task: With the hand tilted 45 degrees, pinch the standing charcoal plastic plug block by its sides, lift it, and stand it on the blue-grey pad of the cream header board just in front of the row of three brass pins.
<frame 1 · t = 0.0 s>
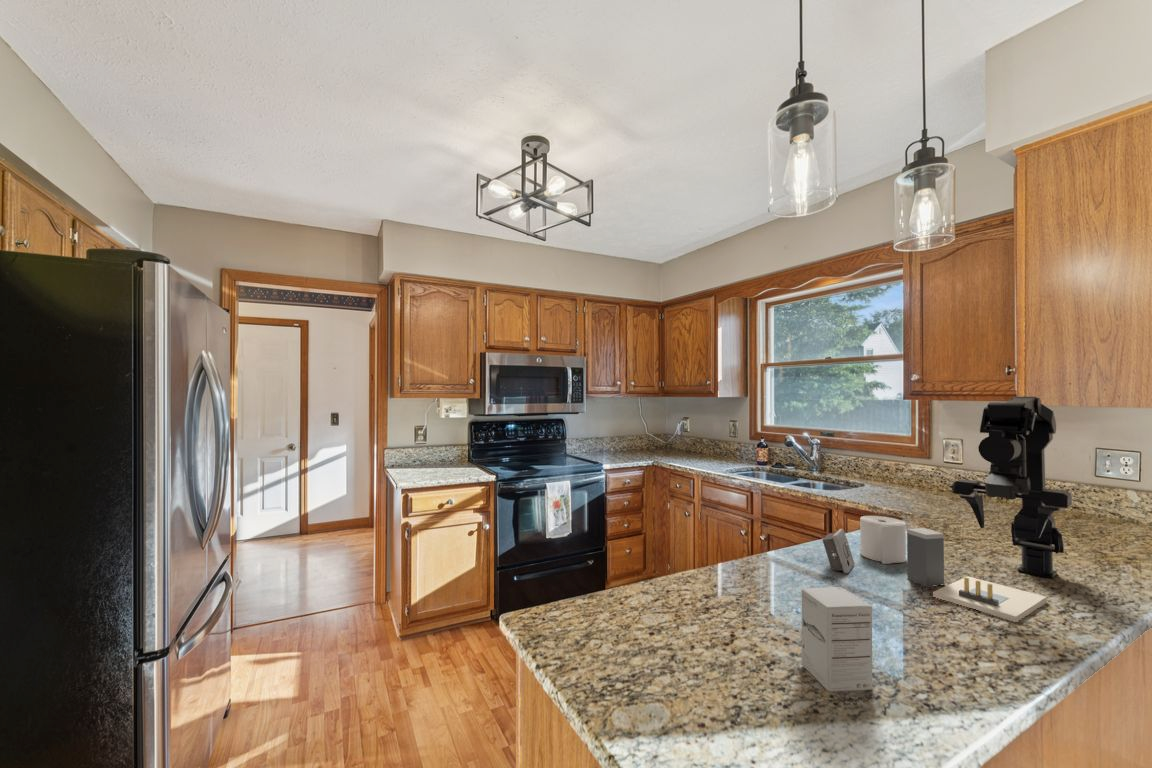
hand: (1009, 532, 105), 15 cm above the worktop, tool pointing down, fingers open, 9 cm apart
header board: (989, 599, 106), on the worktop
plug block: (925, 582, 116), on the worktop
toilet tissue: (884, 558, 133), on the worktop
supplement box: (835, 679, 76), on the worktop
electrical switch: (839, 568, 125), on the worktop
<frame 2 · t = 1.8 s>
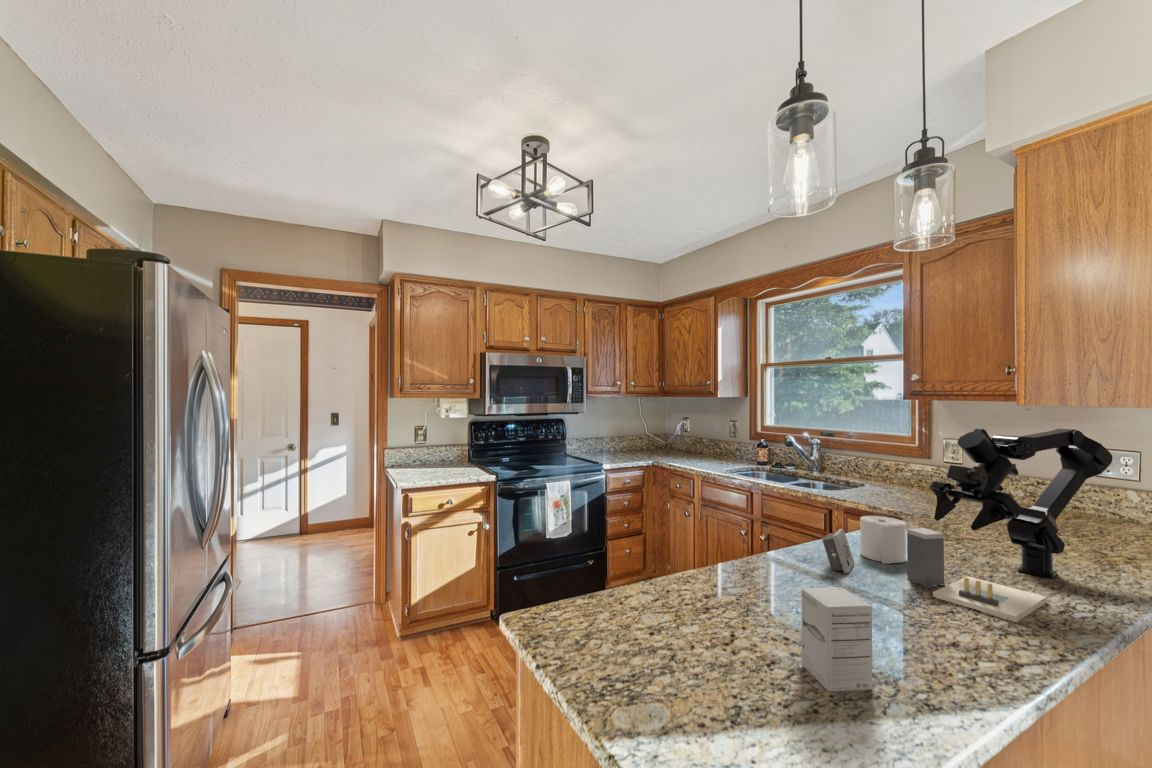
hand: (953, 524, 118), 13 cm above the worktop, tool tilted 45°, fingers open, 9 cm apart
nothing on the worktop moved.
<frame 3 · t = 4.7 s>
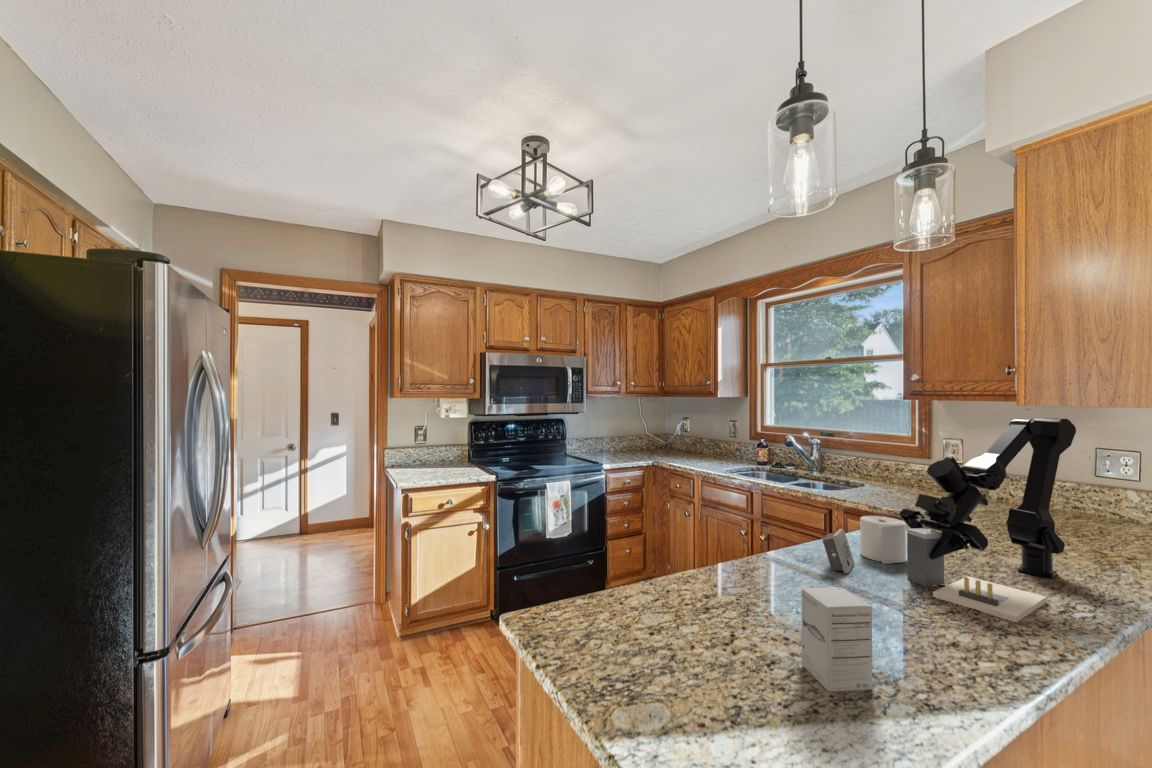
hand: (920, 554, 116), 7 cm above the worktop, tool tilted 45°, fingers closed on plug block, 5 cm apart
plug block: (925, 582, 116), on the worktop, touching gripper
everything else where it was.
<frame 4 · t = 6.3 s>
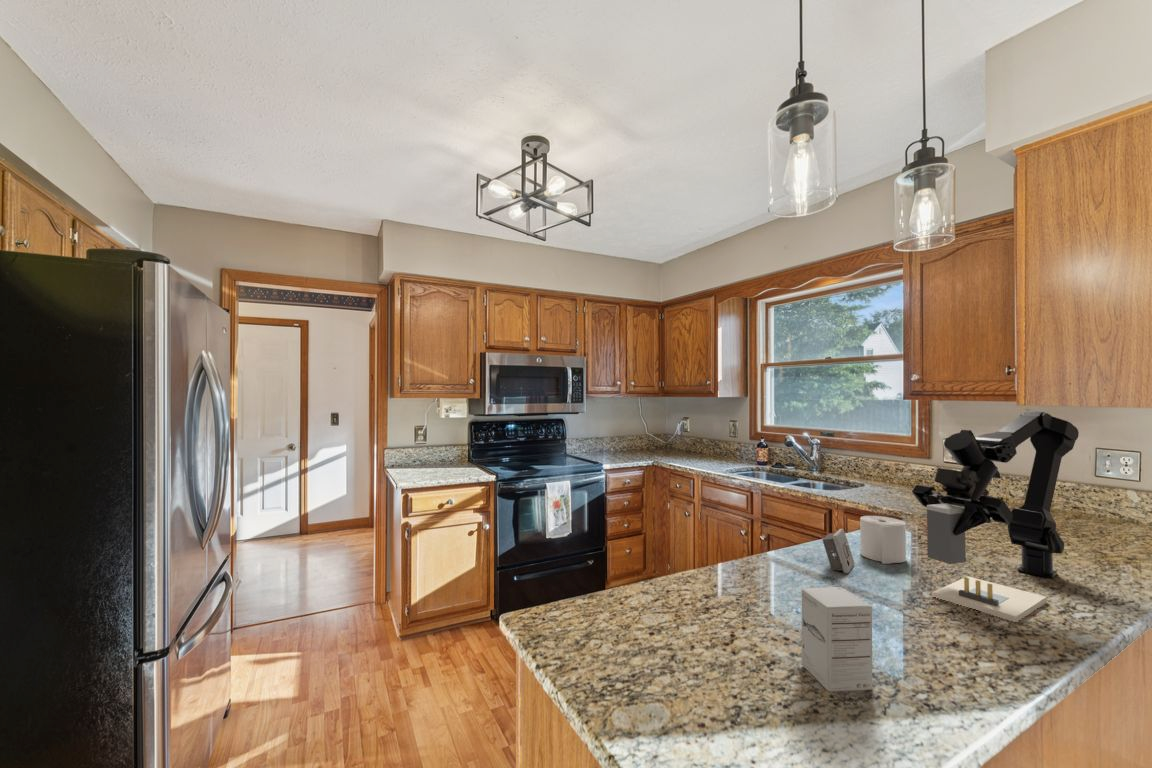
hand: (942, 530, 111), 13 cm above the worktop, tool tilted 45°, fingers closed on plug block, 5 cm apart
plug block: (946, 559, 111), point 7 cm above the worktop, touching gripper
everything else where it was.
when the fingers open (9 cm above the worktop, at t = 7.9 s): plug block drops 1 cm, resting on header board.
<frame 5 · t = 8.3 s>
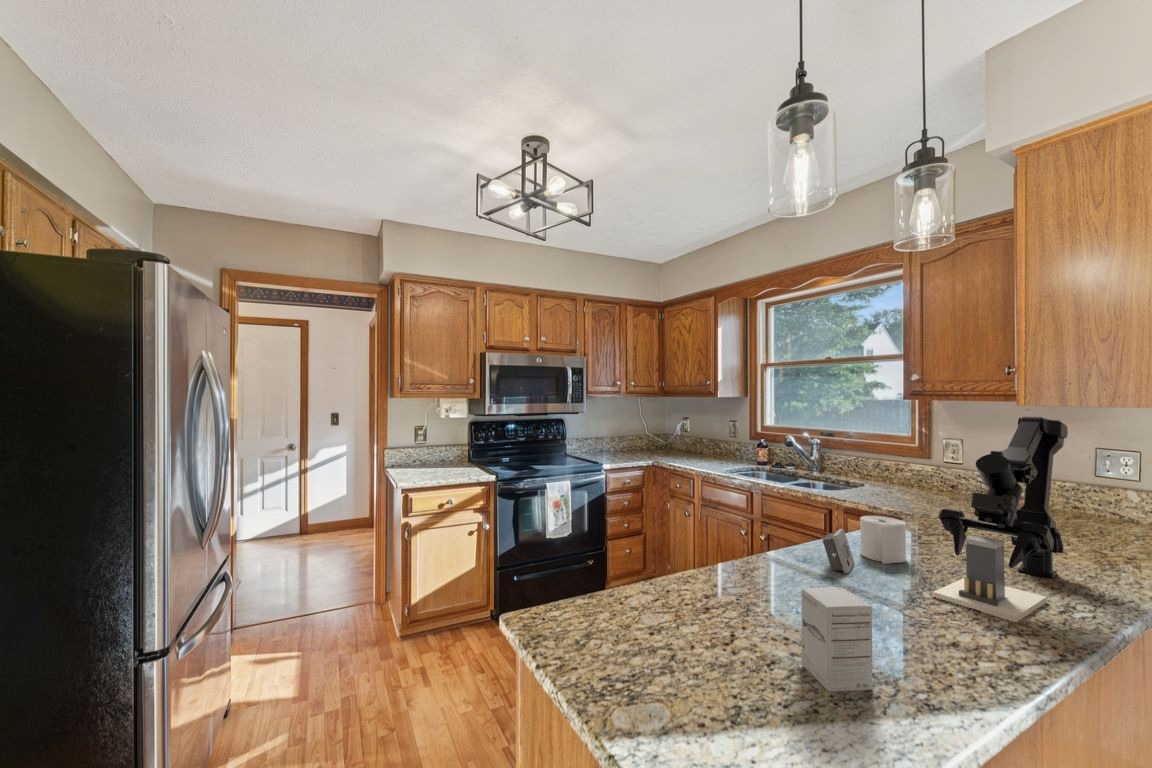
hand: (982, 560, 104), 9 cm above the worktop, tool tilted 45°, fingers open, 9 cm apart
plug block: (985, 595, 105), point 1 cm above the worktop, touching header board
everything else where it was.
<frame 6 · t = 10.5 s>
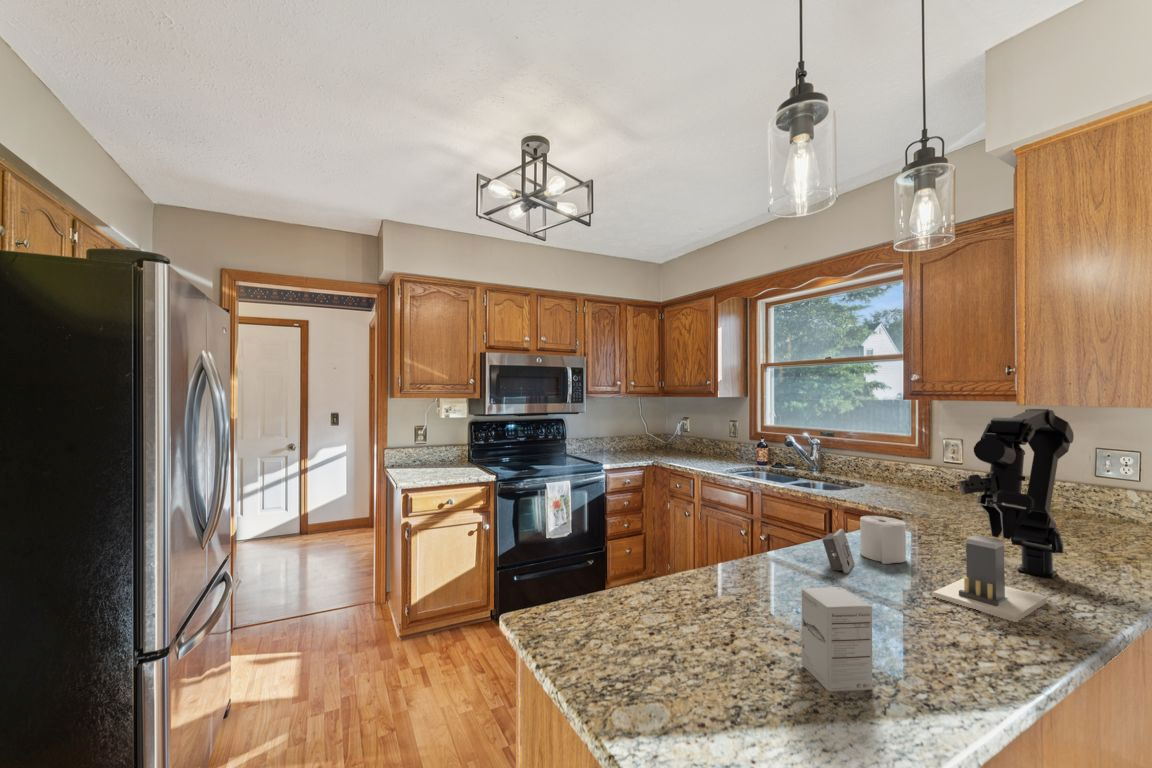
hand: (1000, 537, 112), 12 cm above the worktop, tool pointing down, fingers open, 9 cm apart
nothing on the worktop moved.
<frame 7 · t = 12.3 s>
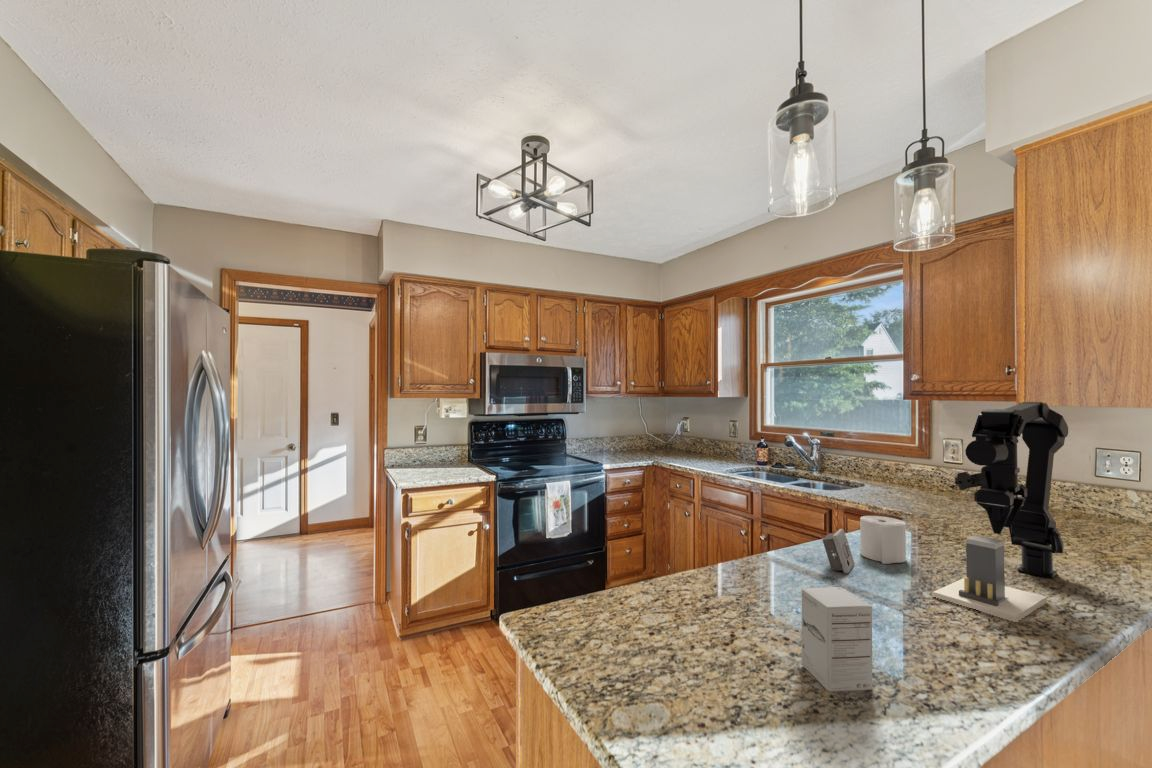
hand: (1001, 530, 114), 13 cm above the worktop, tool pointing down, fingers open, 9 cm apart
nothing on the worktop moved.
at the end: plug block inside the target area on the header board (0.0 cm from its centre), point 1.3 cm above the header board's base; plug block tilted 0°; the gripper is holding nothing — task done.
